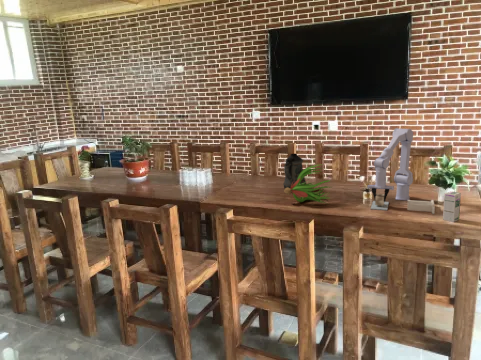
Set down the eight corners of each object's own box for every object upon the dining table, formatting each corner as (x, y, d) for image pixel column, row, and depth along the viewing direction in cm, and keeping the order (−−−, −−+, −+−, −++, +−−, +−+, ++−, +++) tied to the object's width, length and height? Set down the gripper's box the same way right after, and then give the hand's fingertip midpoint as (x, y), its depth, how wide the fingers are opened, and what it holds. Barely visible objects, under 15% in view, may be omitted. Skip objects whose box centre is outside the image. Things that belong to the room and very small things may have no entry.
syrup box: (453, 222, 200) (456, 194, 197) (442, 219, 204) (444, 192, 201) (459, 219, 203) (461, 192, 200) (447, 217, 208) (449, 190, 205)
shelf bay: (407, 204, 233) (407, 198, 233) (433, 205, 228) (433, 200, 227) (407, 211, 219) (407, 205, 218) (434, 213, 214) (434, 207, 213)
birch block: (375, 205, 229) (375, 196, 228) (376, 201, 235) (376, 193, 234) (383, 205, 227) (383, 197, 226) (384, 202, 234) (384, 194, 232)
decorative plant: (280, 208, 255) (322, 201, 263) (296, 210, 231) (341, 203, 239) (275, 168, 254) (317, 162, 262) (290, 167, 230) (336, 160, 238)
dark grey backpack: (306, 185, 290) (306, 151, 285) (306, 191, 272) (306, 156, 266) (284, 185, 293) (283, 152, 288) (282, 191, 275) (281, 156, 269)
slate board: (373, 201, 241) (373, 200, 241) (388, 202, 238) (388, 201, 237) (370, 209, 227) (370, 208, 227) (387, 210, 223) (387, 209, 223)
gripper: (367, 179, 228) (366, 201, 231) (393, 180, 222) (392, 203, 225) (368, 176, 234) (367, 198, 237) (394, 177, 228) (393, 200, 231)
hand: (380, 200), depth 231 cm, fingers closed on birch block, 4 cm apart
